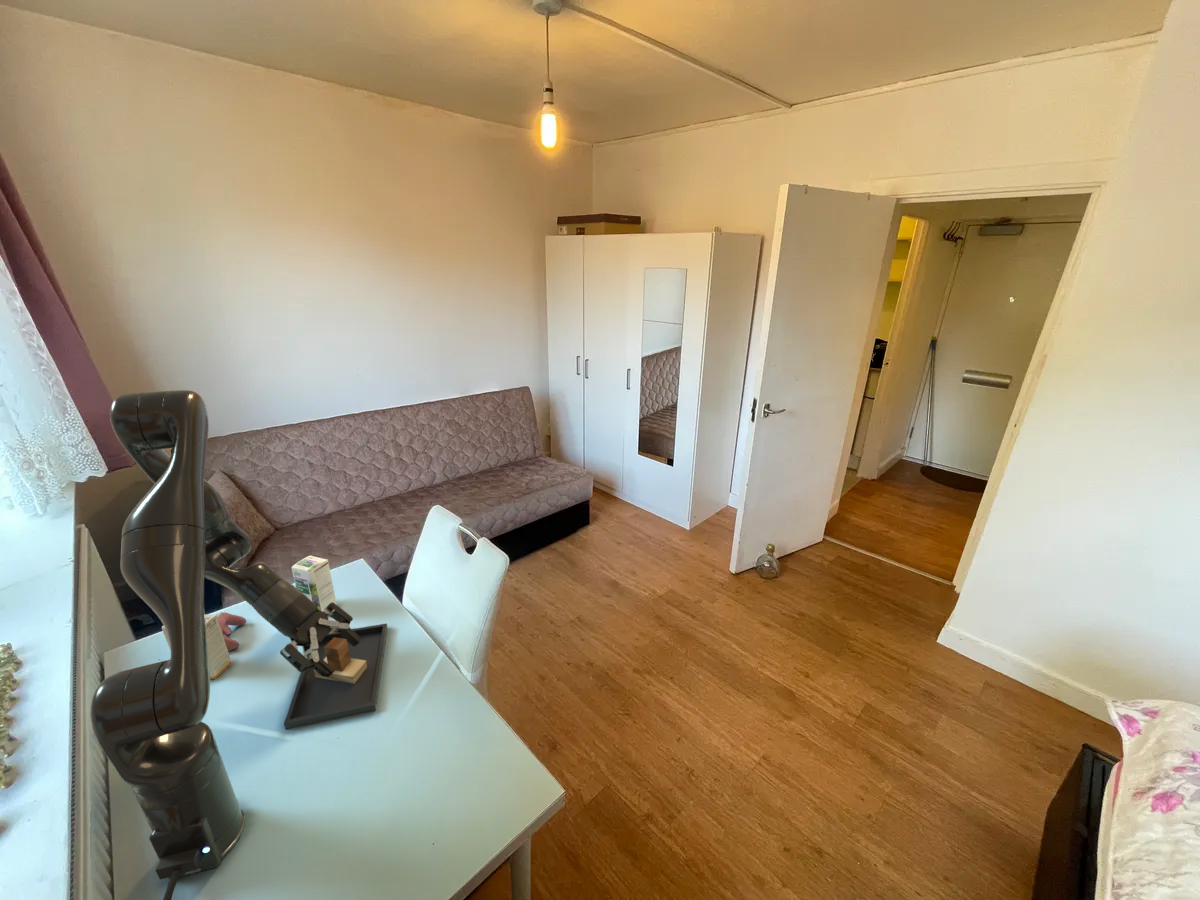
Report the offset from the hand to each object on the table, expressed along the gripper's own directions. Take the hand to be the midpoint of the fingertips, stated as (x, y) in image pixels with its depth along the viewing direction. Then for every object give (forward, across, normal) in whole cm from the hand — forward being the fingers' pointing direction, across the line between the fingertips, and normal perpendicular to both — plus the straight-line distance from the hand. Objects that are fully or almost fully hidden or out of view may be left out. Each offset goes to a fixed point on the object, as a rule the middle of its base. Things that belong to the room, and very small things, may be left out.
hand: (345, 658), depth 102 cm
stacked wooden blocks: (+2, 0, +4) cm, 5 cm away
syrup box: (-10, +17, +17) cm, 26 cm away
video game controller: (-20, +4, +27) cm, 34 cm away
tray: (+2, 0, +4) cm, 5 cm away
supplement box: (-18, -4, +25) cm, 31 cm away
